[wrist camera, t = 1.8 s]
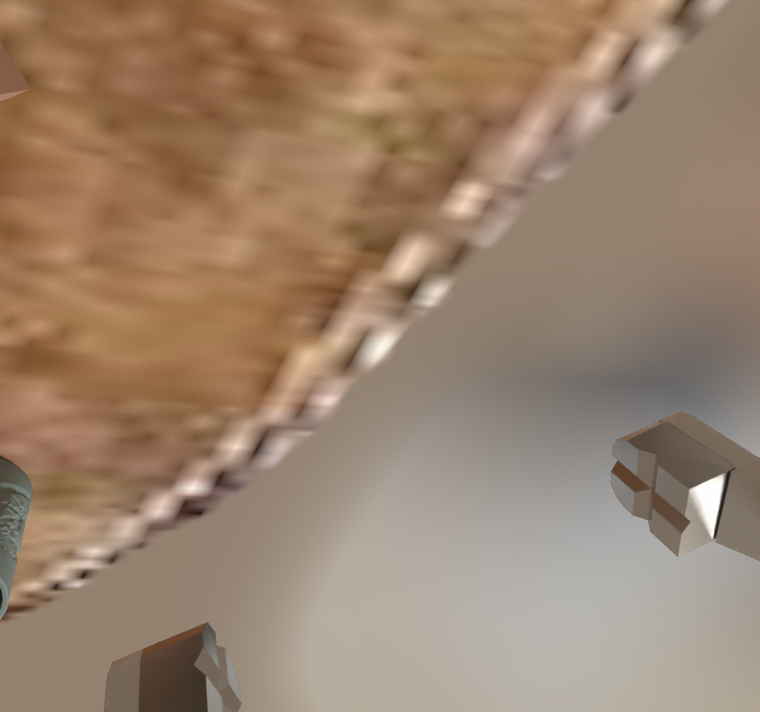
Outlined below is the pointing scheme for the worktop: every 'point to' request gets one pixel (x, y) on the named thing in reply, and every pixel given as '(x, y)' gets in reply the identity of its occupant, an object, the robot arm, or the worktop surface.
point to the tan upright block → (10, 76)
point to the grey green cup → (11, 523)
